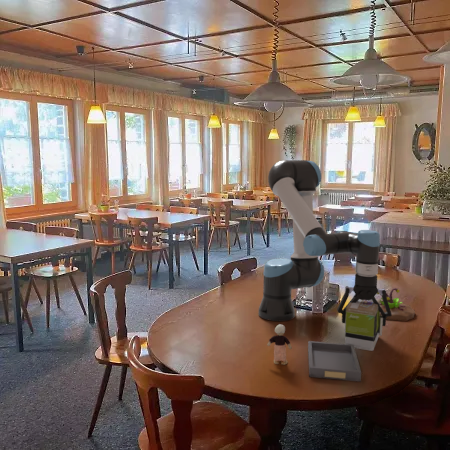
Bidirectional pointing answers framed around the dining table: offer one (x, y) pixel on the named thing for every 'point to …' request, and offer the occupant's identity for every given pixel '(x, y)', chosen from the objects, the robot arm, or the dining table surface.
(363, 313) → the tea box
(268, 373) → the dining table surface
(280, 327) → the grandmother figurine
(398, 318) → the plant
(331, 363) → the slot tray
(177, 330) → the dining table surface
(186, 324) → the dining table surface
